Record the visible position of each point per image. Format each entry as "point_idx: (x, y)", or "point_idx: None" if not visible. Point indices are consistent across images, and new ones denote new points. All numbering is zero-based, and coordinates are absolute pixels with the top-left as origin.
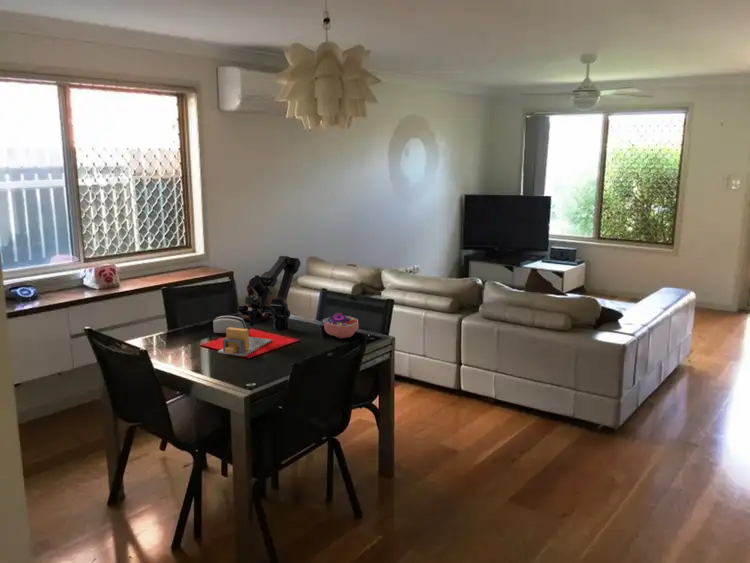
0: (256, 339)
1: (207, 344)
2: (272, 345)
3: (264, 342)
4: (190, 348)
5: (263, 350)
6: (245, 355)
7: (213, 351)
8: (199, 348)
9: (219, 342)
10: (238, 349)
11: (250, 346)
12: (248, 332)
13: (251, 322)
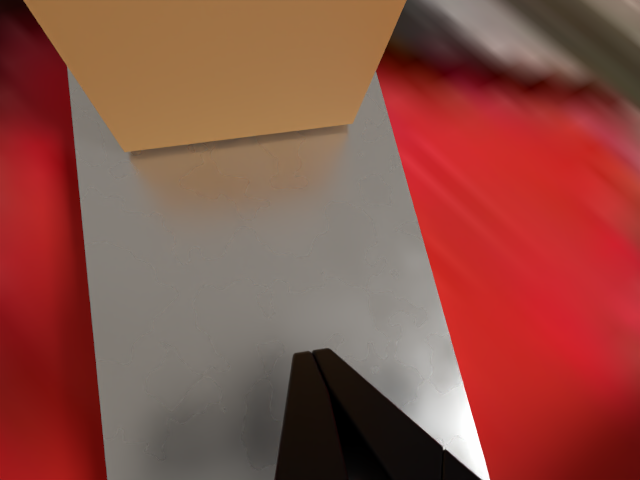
0: None
1: (601, 138)
2: (15, 468)
3: (128, 440)
4: (606, 14)
5: (5, 258)
6: None
7: (414, 29)
8: (559, 39)
9: (577, 228)
10: None
11: (179, 228)
12: (31, 8)
13: (317, 401)
